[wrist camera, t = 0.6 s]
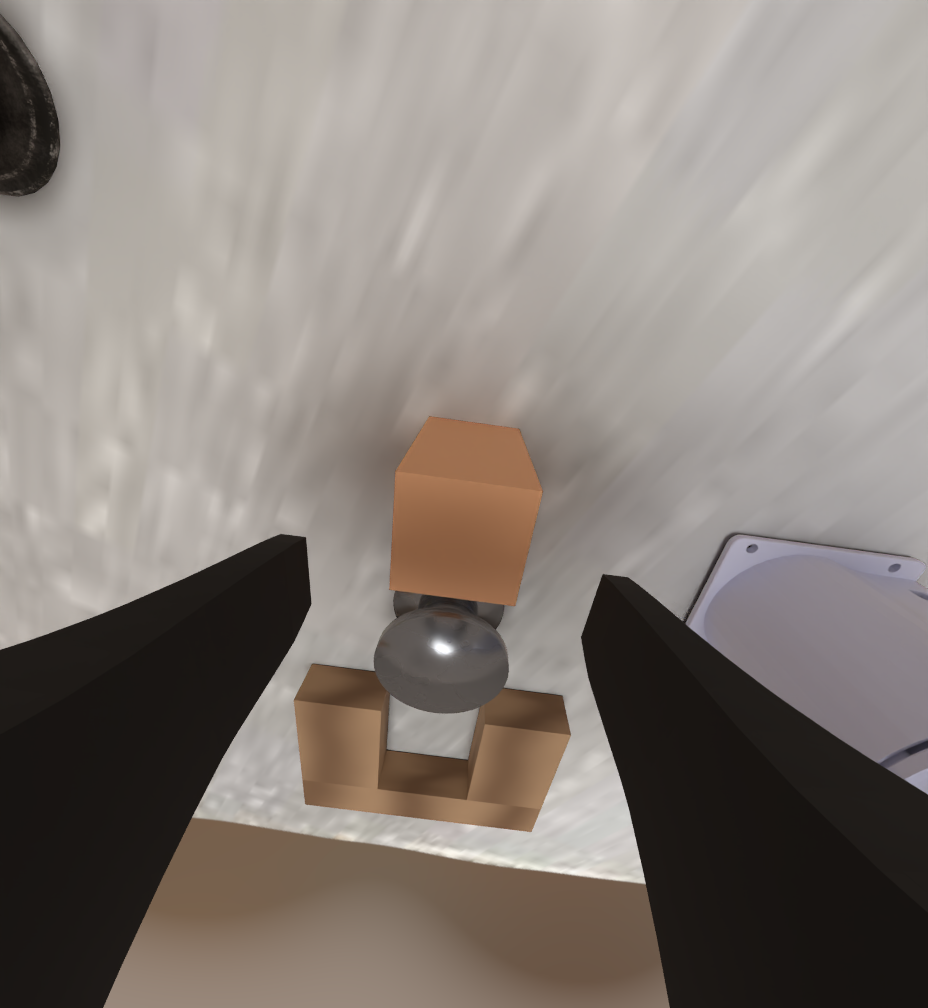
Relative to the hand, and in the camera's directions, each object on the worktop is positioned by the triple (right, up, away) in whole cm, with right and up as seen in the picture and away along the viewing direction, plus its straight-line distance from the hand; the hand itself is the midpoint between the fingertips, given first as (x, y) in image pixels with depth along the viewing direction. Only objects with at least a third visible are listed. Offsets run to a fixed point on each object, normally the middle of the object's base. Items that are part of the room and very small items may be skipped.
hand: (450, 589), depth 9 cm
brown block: (+1, +4, +8) cm, 9 cm away
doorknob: (0, -3, +11) cm, 12 cm away
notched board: (-2, -14, +17) cm, 22 cm away
